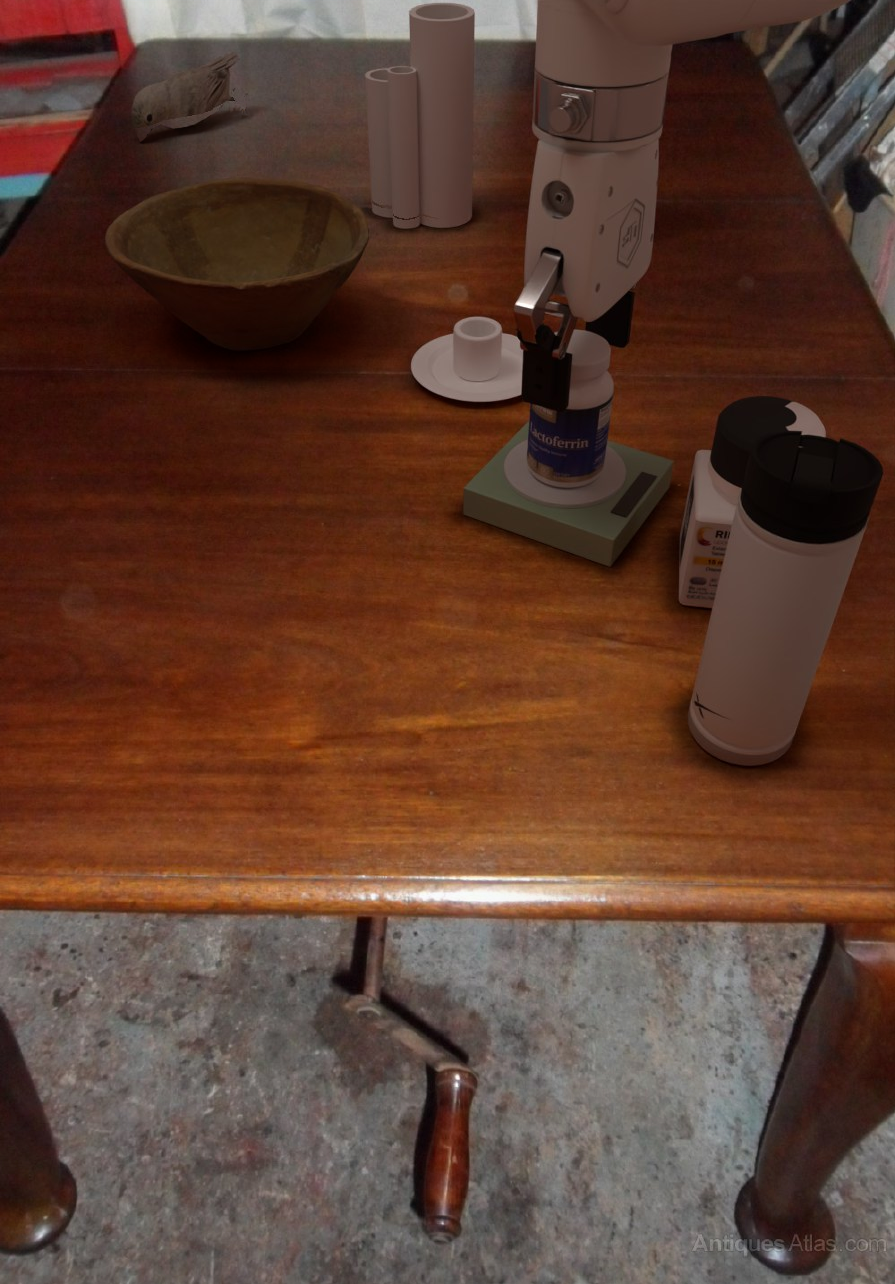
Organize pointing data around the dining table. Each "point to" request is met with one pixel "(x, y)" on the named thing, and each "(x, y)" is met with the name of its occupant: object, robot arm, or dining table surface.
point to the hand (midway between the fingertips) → (576, 372)
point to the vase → (425, 122)
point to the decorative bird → (185, 93)
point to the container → (727, 487)
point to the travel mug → (779, 591)
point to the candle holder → (471, 362)
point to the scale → (570, 500)
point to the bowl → (241, 255)
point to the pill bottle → (575, 419)
